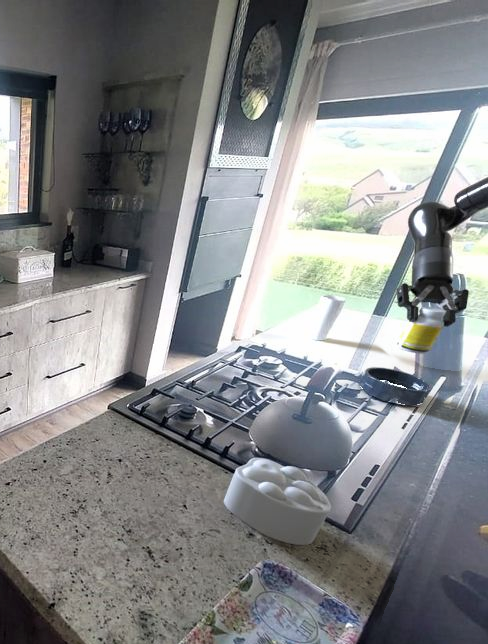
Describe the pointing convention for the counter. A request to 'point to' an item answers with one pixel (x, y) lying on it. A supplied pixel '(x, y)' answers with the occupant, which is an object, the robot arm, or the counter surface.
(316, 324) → the drinking glass
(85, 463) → the counter surface
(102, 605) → the counter surface
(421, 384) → the ring
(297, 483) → the lumpy-topped squat cylinder
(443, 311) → the pill bottle
